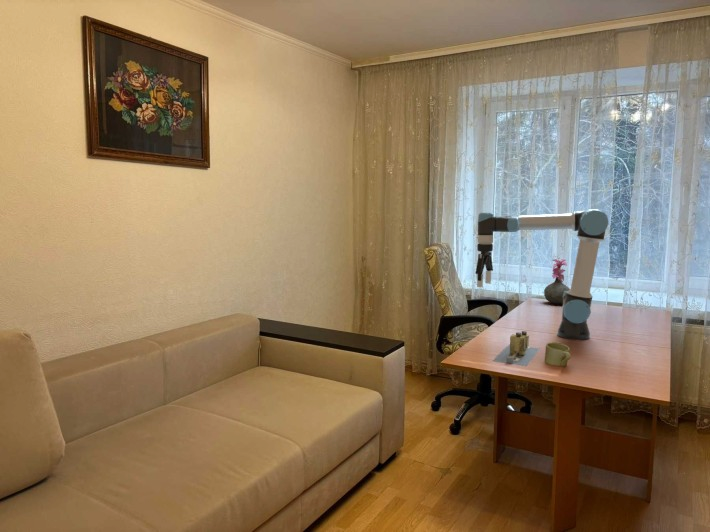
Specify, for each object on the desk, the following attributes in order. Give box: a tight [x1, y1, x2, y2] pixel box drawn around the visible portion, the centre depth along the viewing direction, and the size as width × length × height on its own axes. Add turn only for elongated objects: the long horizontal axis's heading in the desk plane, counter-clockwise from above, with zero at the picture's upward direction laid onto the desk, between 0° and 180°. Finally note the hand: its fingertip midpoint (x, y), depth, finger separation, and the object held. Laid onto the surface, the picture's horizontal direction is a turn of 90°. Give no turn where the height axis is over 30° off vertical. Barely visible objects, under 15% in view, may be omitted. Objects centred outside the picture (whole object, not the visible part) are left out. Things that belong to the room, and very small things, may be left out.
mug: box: [544, 342, 572, 368], centre depth 218 cm, size 12×10×10 cm
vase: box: [543, 258, 571, 306], centre depth 349 cm, size 17×18×30 cm
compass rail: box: [505, 330, 530, 365], centre depth 231 cm, size 4×29×7 cm, turn 151°
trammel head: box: [509, 332, 526, 355], centre depth 232 cm, size 6×4×9 cm
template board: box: [492, 343, 541, 367], centre depth 232 cm, size 14×31×1 cm, turn 150°
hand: (484, 285), depth 266 cm, fingers open, 13 cm apart
